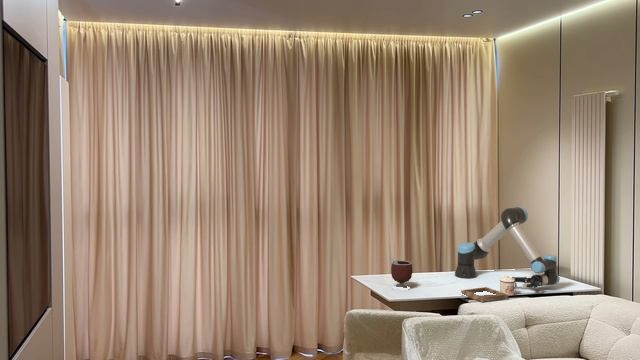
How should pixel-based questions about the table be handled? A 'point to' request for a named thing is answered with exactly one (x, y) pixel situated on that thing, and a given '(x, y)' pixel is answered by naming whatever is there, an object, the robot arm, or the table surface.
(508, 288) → the teacup with lid
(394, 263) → the mate gourd
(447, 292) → the table surface
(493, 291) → the tray
